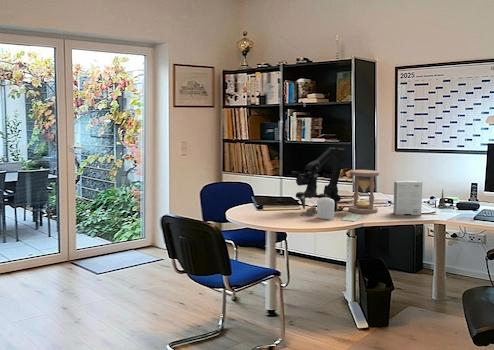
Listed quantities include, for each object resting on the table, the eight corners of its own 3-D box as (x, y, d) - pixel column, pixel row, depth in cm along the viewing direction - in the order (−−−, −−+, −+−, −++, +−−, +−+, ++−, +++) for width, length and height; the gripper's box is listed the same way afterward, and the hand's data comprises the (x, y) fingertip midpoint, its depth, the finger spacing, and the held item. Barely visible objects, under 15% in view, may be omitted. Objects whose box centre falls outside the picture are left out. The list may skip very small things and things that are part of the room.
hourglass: (383, 212, 325) (384, 172, 322) (359, 214, 319) (360, 173, 316) (366, 207, 342) (368, 169, 339) (343, 209, 335) (344, 170, 332)
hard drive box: (418, 213, 325) (420, 180, 323) (421, 215, 317) (422, 182, 315) (392, 212, 327) (394, 180, 324) (394, 214, 319) (396, 182, 317)
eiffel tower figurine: (435, 210, 338) (436, 189, 336) (427, 207, 348) (428, 187, 346) (456, 209, 340) (458, 189, 339) (448, 206, 350) (449, 186, 349)
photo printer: (335, 219, 305) (335, 198, 303) (332, 220, 301) (332, 199, 300) (319, 217, 310) (319, 196, 309) (315, 218, 307) (316, 197, 305)
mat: (348, 214, 318) (348, 214, 318) (362, 215, 315) (362, 215, 315) (340, 220, 302) (340, 219, 302) (354, 221, 299) (354, 220, 299)
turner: (309, 211, 329) (309, 206, 328) (318, 212, 326) (318, 207, 326) (301, 215, 315) (301, 210, 315) (310, 216, 313) (310, 211, 312)
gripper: (292, 185, 318) (292, 210, 320) (322, 187, 310) (322, 213, 312) (299, 182, 328) (298, 207, 330) (328, 184, 320) (327, 210, 322)
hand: (311, 209), depth 323 cm, fingers open, 9 cm apart
